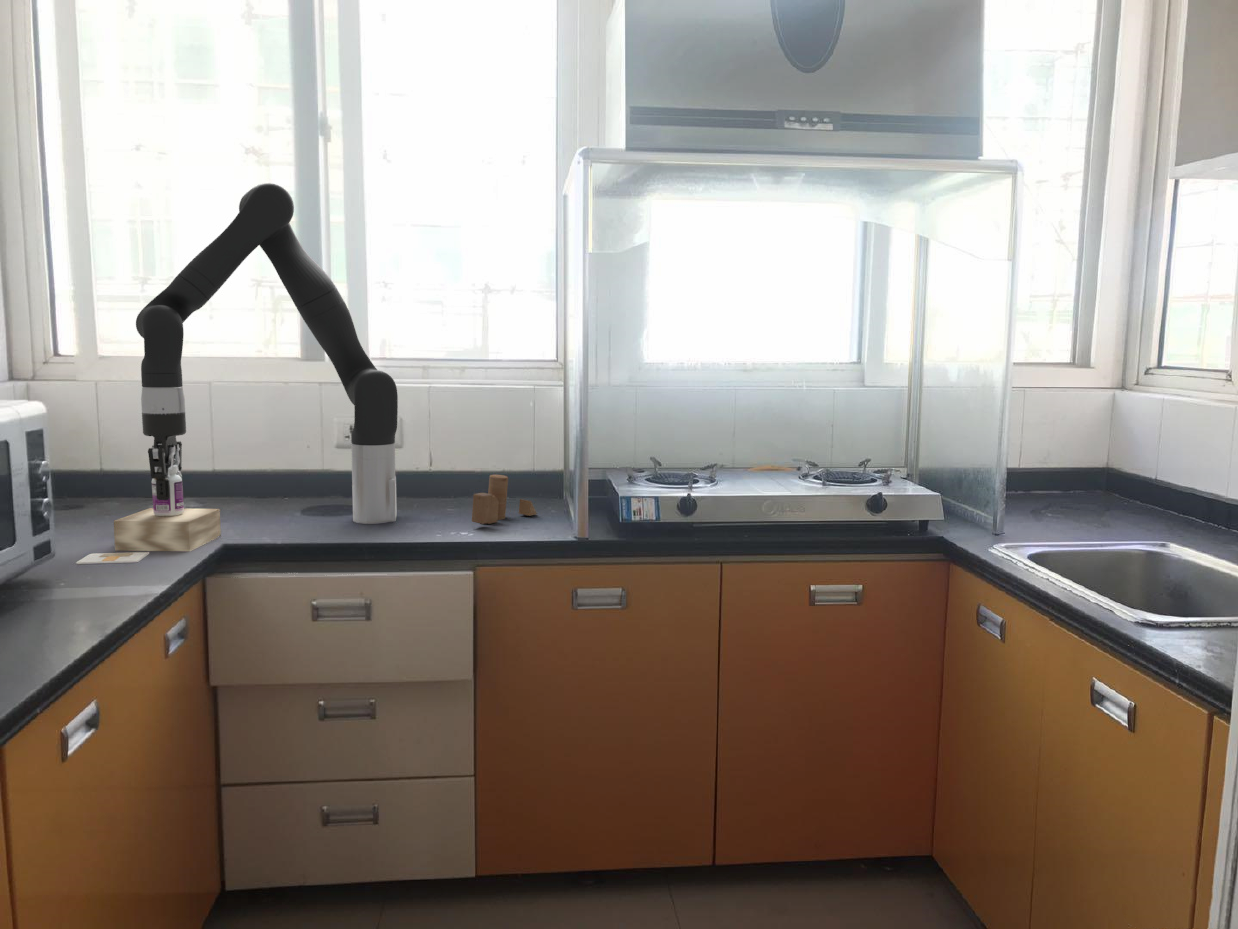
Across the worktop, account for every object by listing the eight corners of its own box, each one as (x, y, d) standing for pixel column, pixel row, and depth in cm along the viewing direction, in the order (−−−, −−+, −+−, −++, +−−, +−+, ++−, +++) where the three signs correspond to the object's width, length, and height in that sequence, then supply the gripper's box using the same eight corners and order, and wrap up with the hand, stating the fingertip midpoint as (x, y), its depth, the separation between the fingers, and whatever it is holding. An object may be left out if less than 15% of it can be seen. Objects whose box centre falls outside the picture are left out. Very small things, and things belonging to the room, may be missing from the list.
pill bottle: (176, 511, 183) (173, 463, 182) (188, 514, 180) (186, 465, 179) (148, 514, 179) (145, 465, 178) (160, 518, 176) (158, 468, 174)
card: (149, 553, 171) (149, 551, 171) (137, 562, 164) (137, 560, 164) (90, 555, 169) (90, 553, 169) (76, 564, 162) (76, 561, 162)
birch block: (220, 537, 187) (219, 508, 186) (189, 553, 173) (188, 521, 173) (151, 537, 187) (150, 508, 186) (115, 552, 173) (113, 520, 172)
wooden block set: (488, 533, 194) (492, 485, 193) (456, 525, 198) (459, 479, 197) (536, 521, 210) (540, 477, 209) (505, 515, 214) (509, 471, 213)
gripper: (174, 413, 171) (178, 503, 173) (194, 407, 185) (197, 491, 187) (130, 413, 169) (135, 504, 171) (153, 407, 183) (158, 491, 185)
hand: (168, 496), depth 179 cm, fingers closed on pill bottle, 5 cm apart
